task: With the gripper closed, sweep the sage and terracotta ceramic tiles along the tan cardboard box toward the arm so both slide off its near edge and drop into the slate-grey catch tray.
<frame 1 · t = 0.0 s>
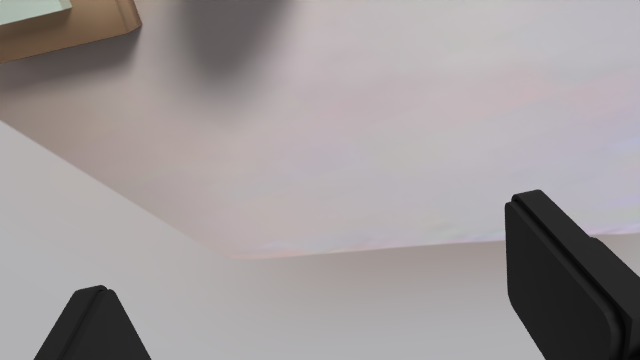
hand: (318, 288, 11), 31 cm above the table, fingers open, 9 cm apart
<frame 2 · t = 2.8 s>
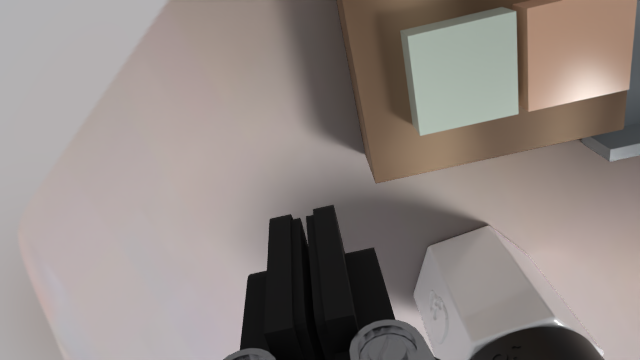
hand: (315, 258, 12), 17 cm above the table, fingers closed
terracotta tile: (562, 44, 24), point 4 cm above the table, touching tan cardboard box
jar: (468, 272, 35), on the table
tan cardboard box: (467, 45, 27), on the table
sage tile: (455, 69, 24), point 4 cm above the table, touching tan cardboard box
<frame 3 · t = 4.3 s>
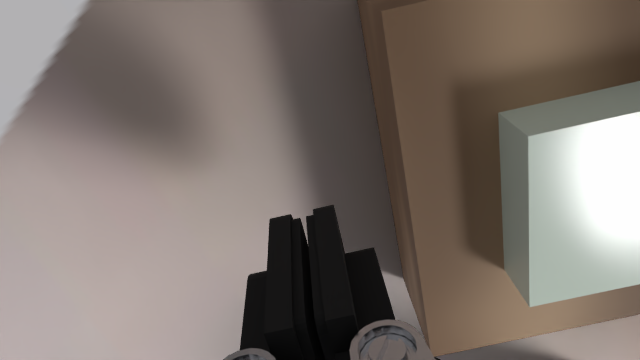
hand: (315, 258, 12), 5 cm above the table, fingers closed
tan cardboard box: (582, 113, 16), on the table
sage tile: (593, 178, 13), point 4 cm above the table, touching tan cardboard box
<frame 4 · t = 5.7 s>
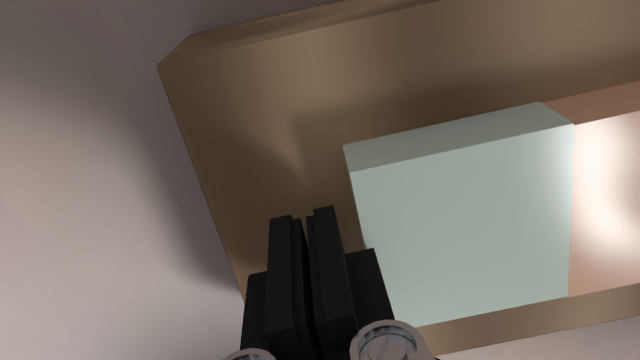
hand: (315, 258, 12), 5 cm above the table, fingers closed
terracotta tile: (630, 169, 13), point 4 cm above the table, touching tan cardboard box, sage tile
tan cardboard box: (433, 148, 16), on the table
sage tile: (448, 207, 13), point 4 cm above the table, touching tan cardboard box, gripper, terracotta tile
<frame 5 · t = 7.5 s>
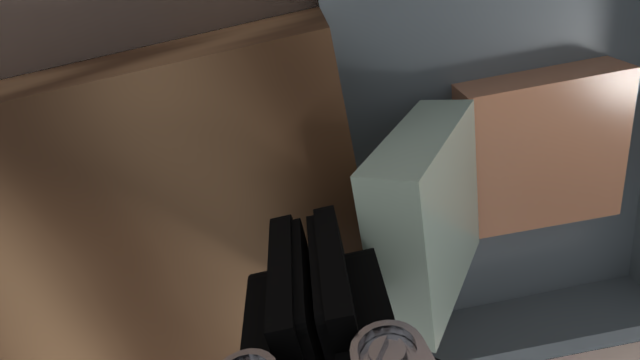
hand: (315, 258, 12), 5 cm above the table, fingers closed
terracotta tile: (549, 160, 15), point 2 cm above the table, tilted 180°, touching catch tray, sage tile
tan cardboard box: (160, 208, 17), on the table
catch tray: (504, 133, 16), on the table
sage tile: (400, 212, 14), point 3 cm above the table, tilted 58°, touching gripper, terracotta tile
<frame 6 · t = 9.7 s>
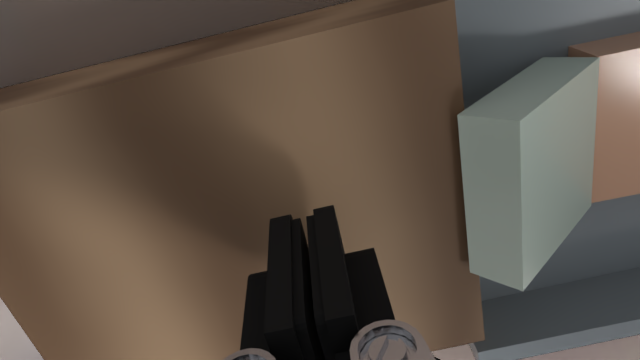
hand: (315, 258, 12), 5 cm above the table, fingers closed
tan cardboard box: (245, 190, 17), on the table
catch tray: (587, 111, 17), on the table
sage tile: (507, 162, 14), point 3 cm above the table, tilted 41°, touching tan cardboard box, terracotta tile
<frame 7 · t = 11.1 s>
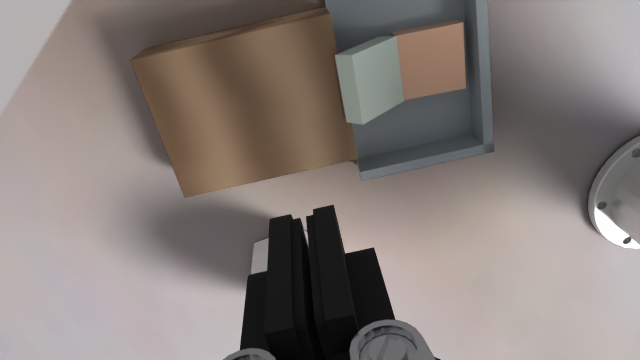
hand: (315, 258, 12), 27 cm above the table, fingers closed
terracotta tile: (432, 62, 35), point 2 cm above the table, tilted 180°, touching catch tray, sage tile
jar: (292, 263, 46), on the table
tan cardboard box: (254, 96, 38), on the table
catch tray: (406, 61, 37), on the table
sage tile: (363, 78, 35), point 3 cm above the table, tilted 41°, touching tan cardboard box, terracotta tile
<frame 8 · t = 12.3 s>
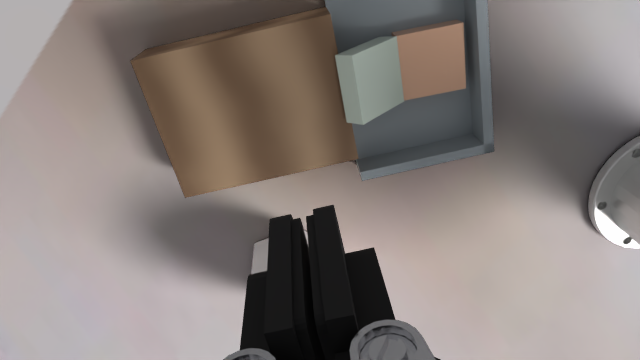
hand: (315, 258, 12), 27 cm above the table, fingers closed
terracotta tile: (432, 63, 35), point 2 cm above the table, tilted 180°, touching catch tray, sage tile
jar: (292, 263, 46), on the table
tan cardboard box: (254, 97, 38), on the table
catch tray: (407, 62, 37), on the table
sage tile: (363, 79, 35), point 3 cm above the table, tilted 41°, touching tan cardboard box, terracotta tile
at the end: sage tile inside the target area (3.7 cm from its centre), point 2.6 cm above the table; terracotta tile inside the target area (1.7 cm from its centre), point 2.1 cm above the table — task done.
